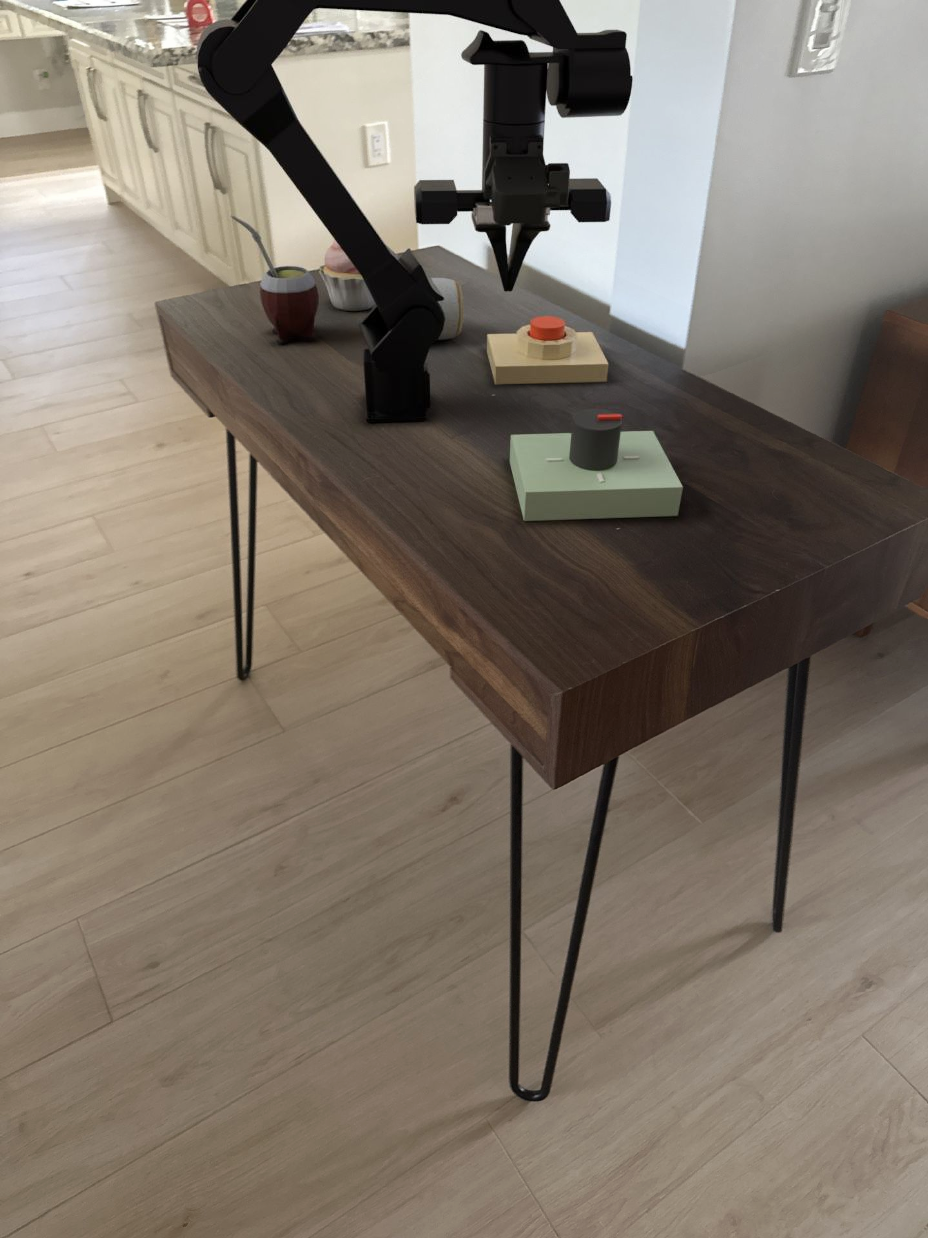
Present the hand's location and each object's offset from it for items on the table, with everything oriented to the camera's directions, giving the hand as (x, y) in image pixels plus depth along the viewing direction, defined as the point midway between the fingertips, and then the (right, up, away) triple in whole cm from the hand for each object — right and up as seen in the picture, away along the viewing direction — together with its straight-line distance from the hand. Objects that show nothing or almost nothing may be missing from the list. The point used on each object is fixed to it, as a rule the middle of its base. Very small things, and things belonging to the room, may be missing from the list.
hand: (507, 290), depth 93 cm
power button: (+5, -1, +13) cm, 14 cm away
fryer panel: (+7, -22, -8) cm, 24 cm away
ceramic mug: (-10, +2, +23) cm, 25 cm away
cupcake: (-19, +9, +31) cm, 38 cm away
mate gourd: (-27, +2, +22) cm, 34 cm away
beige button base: (+5, -4, +15) cm, 16 cm away
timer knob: (+7, -19, -10) cm, 23 cm away
